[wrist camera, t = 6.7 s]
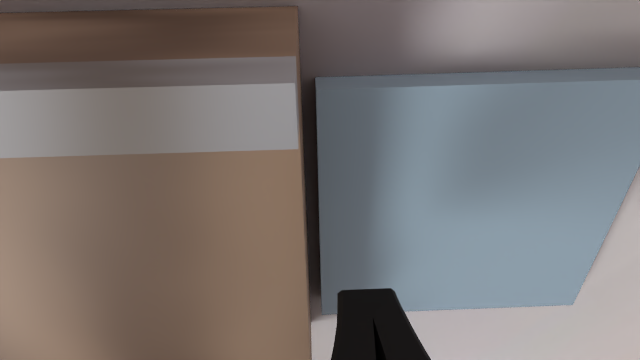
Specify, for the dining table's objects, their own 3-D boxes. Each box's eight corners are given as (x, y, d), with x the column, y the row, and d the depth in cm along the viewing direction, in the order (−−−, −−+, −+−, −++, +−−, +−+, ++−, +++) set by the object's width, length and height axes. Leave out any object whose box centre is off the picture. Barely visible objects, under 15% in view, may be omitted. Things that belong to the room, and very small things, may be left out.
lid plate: (320, 285, 18) (321, 314, 17) (314, 70, 13) (315, 89, 11) (554, 276, 18) (572, 304, 17) (645, 60, 13) (682, 78, 12)
